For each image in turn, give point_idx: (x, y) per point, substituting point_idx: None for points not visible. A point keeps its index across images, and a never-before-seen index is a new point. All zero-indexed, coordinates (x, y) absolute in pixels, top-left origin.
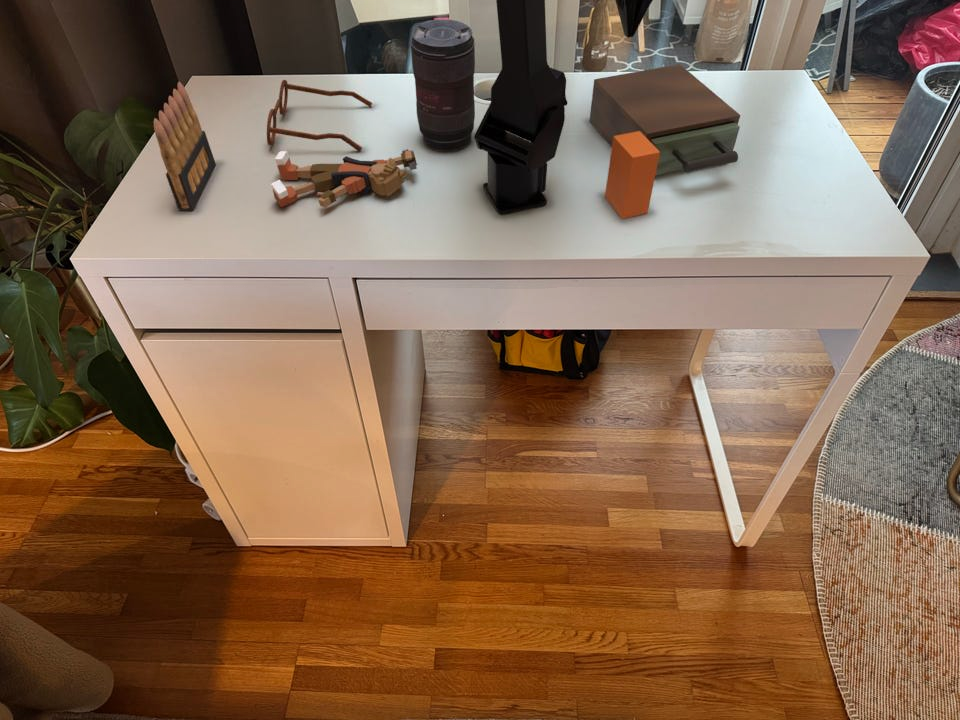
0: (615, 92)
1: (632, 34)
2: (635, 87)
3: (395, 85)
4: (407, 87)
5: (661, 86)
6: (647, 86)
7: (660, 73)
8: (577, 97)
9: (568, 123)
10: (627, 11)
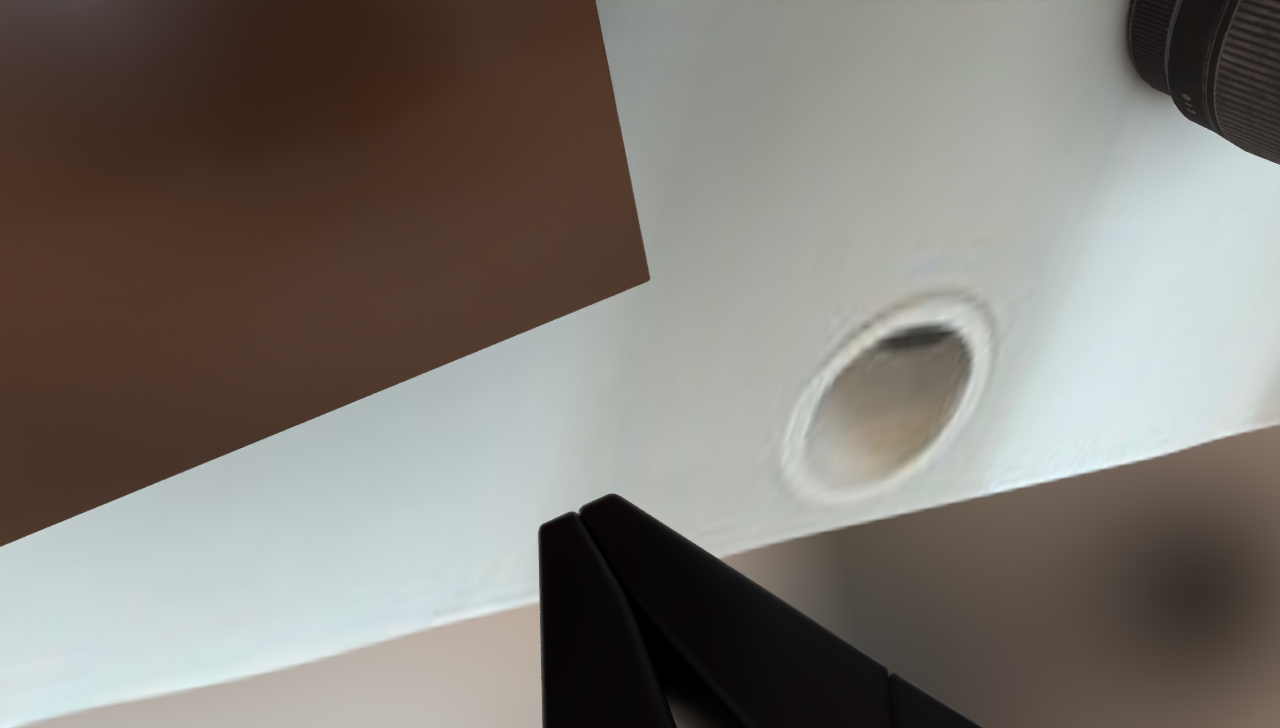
0: (531, 50)
1: (573, 531)
2: (318, 149)
3: (1165, 394)
4: (1142, 387)
5: (4, 174)
6: (182, 169)
7: (24, 435)
8: (546, 403)
9: (653, 127)
10: (941, 715)
